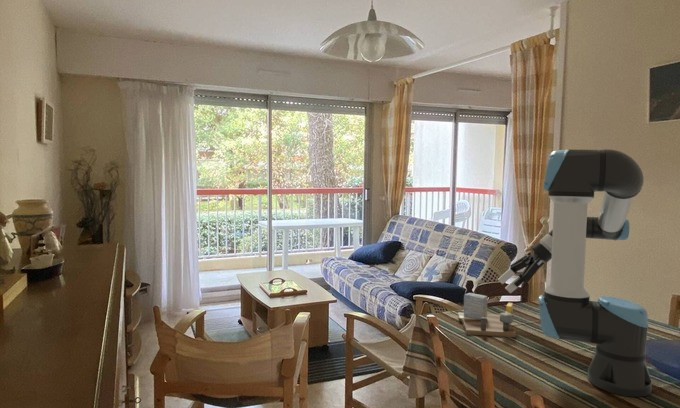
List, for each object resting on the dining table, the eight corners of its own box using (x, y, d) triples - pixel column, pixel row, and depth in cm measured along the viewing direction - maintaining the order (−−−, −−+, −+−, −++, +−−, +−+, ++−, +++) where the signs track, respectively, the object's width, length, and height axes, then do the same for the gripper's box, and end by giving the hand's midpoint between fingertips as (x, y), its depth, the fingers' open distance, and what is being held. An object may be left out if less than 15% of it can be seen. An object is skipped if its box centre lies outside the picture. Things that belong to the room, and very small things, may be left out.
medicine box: (487, 317, 174) (488, 296, 174) (482, 320, 171) (483, 298, 170) (468, 313, 179) (468, 292, 179) (463, 316, 176) (463, 294, 175)
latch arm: (511, 331, 158) (512, 312, 158) (498, 329, 160) (499, 310, 160) (516, 321, 169) (516, 303, 168) (503, 319, 171) (504, 301, 171)
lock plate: (515, 337, 159) (516, 320, 159) (463, 334, 162) (463, 317, 161) (503, 318, 179) (504, 304, 178) (457, 316, 181) (457, 301, 181)
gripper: (565, 262, 157) (518, 302, 160) (543, 250, 182) (503, 285, 185) (549, 246, 157) (503, 287, 161) (530, 237, 182) (490, 272, 185)
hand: (503, 286), depth 173 cm, fingers open, 13 cm apart
